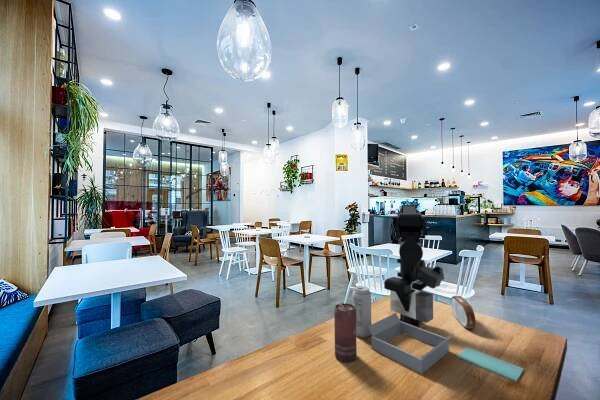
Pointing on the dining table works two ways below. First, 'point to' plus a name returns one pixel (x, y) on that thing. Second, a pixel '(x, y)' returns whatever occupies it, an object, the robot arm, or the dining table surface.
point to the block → (414, 305)
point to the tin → (463, 312)
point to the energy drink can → (362, 310)
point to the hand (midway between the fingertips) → (411, 309)
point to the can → (345, 332)
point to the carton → (394, 327)
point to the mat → (491, 364)
